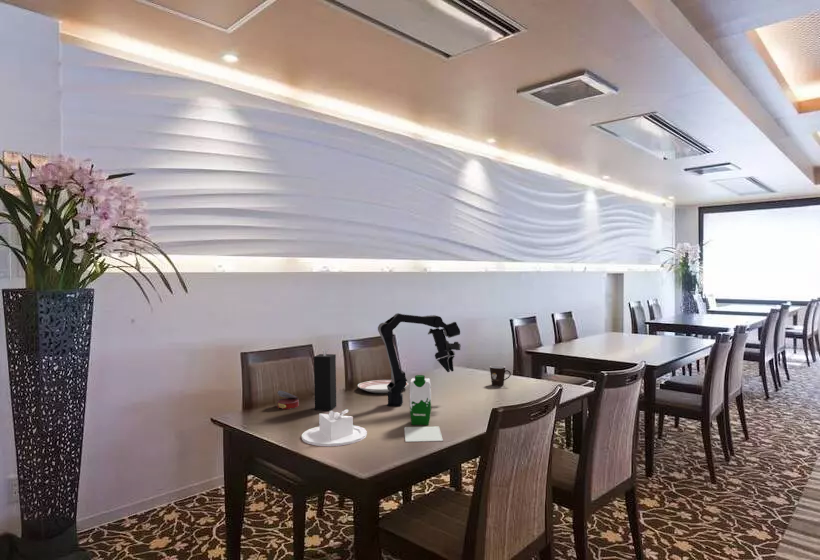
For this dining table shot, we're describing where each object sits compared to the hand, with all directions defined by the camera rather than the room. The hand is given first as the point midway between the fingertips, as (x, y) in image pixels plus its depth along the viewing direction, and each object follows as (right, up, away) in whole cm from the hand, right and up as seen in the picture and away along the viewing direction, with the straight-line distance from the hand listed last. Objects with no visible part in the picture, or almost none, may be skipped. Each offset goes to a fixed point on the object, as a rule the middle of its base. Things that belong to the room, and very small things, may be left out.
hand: (450, 371), depth 255 cm
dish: (-49, -17, -49) cm, 71 cm away
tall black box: (-59, -16, -7) cm, 61 cm away
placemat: (-15, -16, -49) cm, 53 cm away
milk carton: (-15, -16, -33) cm, 39 cm away
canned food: (-77, -16, -2) cm, 79 cm away
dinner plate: (-34, -15, +32) cm, 49 cm away
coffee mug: (+30, -14, +38) cm, 50 cm away
